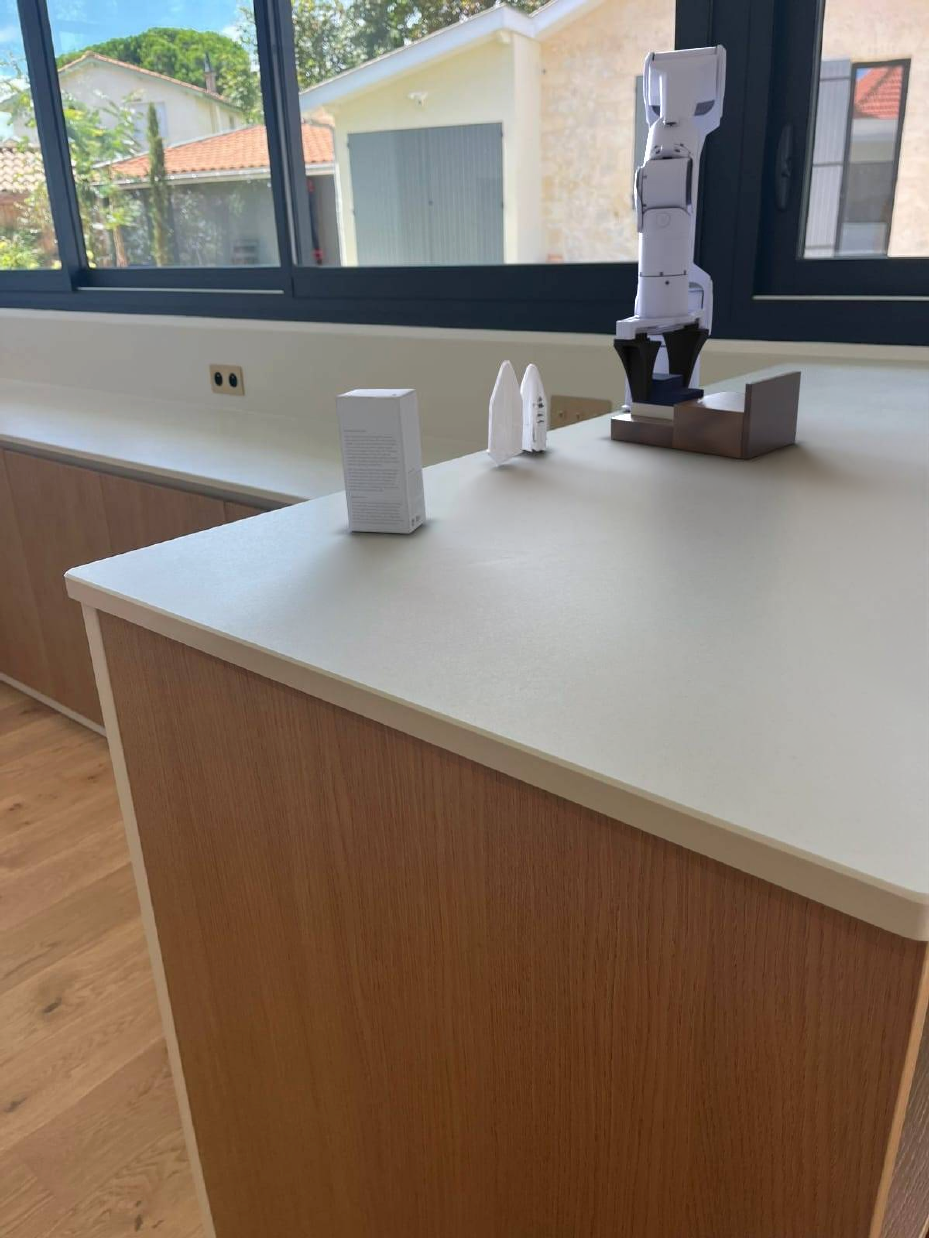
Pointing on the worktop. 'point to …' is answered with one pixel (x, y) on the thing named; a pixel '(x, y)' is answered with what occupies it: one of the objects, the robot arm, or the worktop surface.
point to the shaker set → (516, 414)
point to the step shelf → (724, 421)
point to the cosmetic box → (381, 459)
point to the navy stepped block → (664, 397)
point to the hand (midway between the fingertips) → (660, 395)
